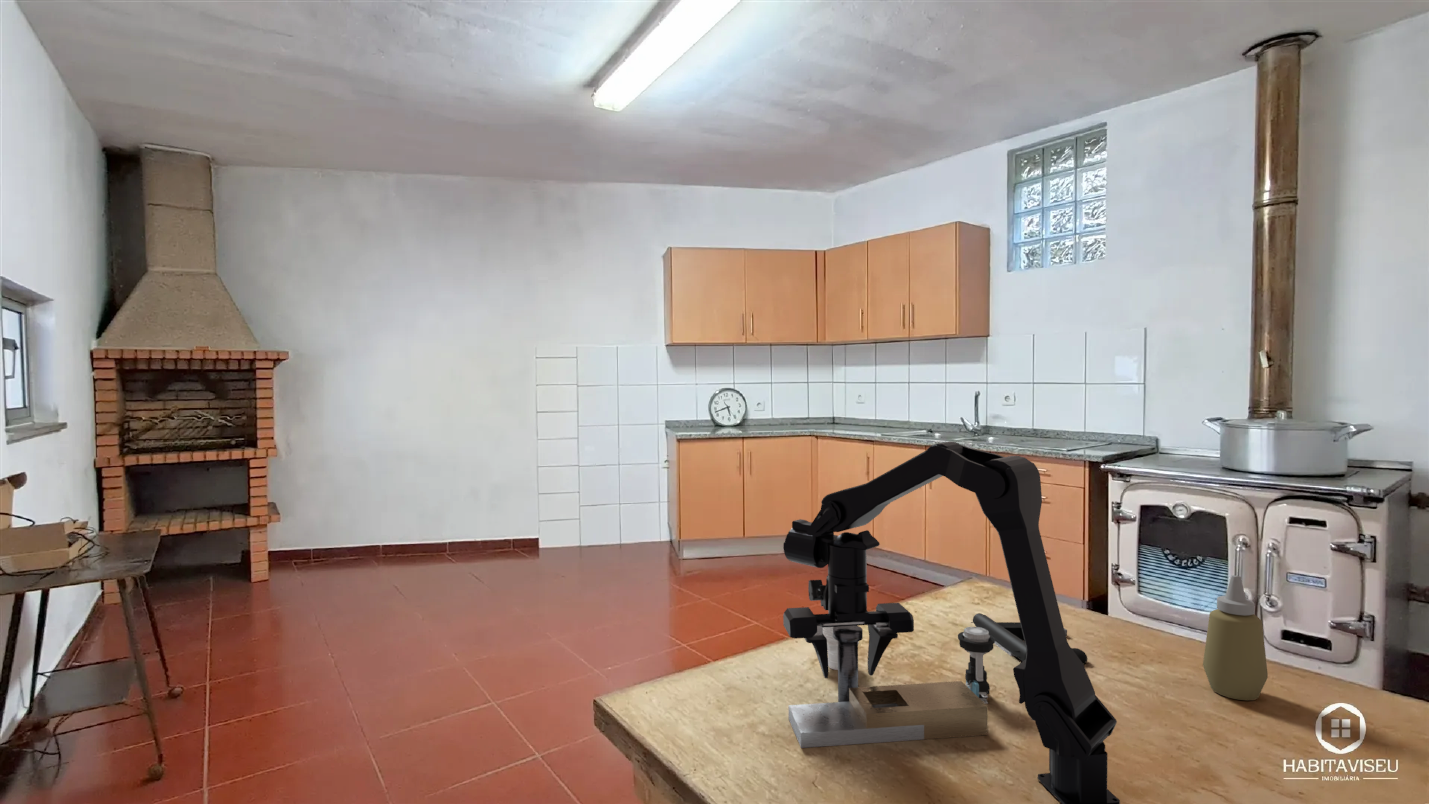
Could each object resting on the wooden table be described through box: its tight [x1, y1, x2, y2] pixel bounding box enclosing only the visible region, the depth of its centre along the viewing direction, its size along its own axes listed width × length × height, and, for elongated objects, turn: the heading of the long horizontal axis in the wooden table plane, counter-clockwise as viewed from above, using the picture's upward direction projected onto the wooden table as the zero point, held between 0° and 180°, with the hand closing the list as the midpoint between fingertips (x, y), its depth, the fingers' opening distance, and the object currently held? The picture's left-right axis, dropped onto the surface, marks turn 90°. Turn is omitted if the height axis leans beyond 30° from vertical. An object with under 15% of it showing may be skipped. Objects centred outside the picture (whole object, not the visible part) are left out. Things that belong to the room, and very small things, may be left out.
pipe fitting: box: [823, 627, 860, 671], centre depth 120 cm, size 6×7×8 cm
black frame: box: [970, 612, 1088, 665], centre depth 129 cm, size 3×20×16 cm
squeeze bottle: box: [1202, 574, 1269, 701], centre depth 108 cm, size 8×8×18 cm
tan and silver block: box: [788, 680, 989, 749], centre depth 100 cm, size 8×26×4 cm, turn 96°
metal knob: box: [833, 625, 864, 702], centre depth 107 cm, size 4×4×11 cm
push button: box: [957, 626, 995, 705], centre depth 108 cm, size 7×5×10 cm
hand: (848, 675), depth 107 cm, fingers open, 7 cm apart
